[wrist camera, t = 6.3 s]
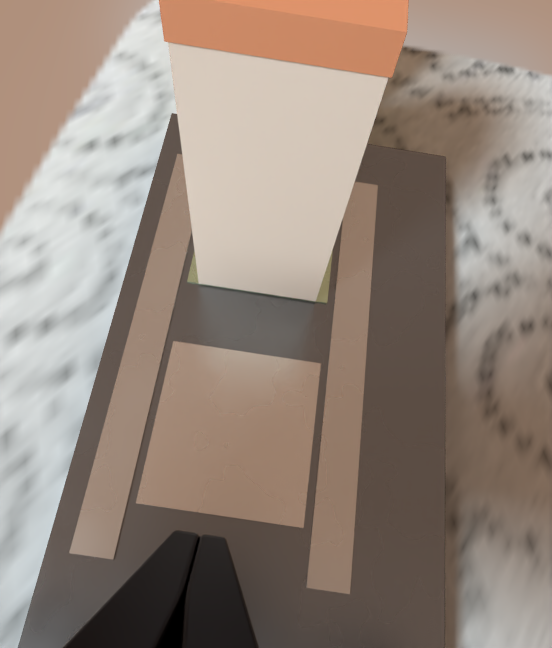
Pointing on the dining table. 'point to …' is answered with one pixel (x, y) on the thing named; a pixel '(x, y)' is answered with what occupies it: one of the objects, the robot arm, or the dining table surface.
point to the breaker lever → (275, 128)
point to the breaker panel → (273, 426)
